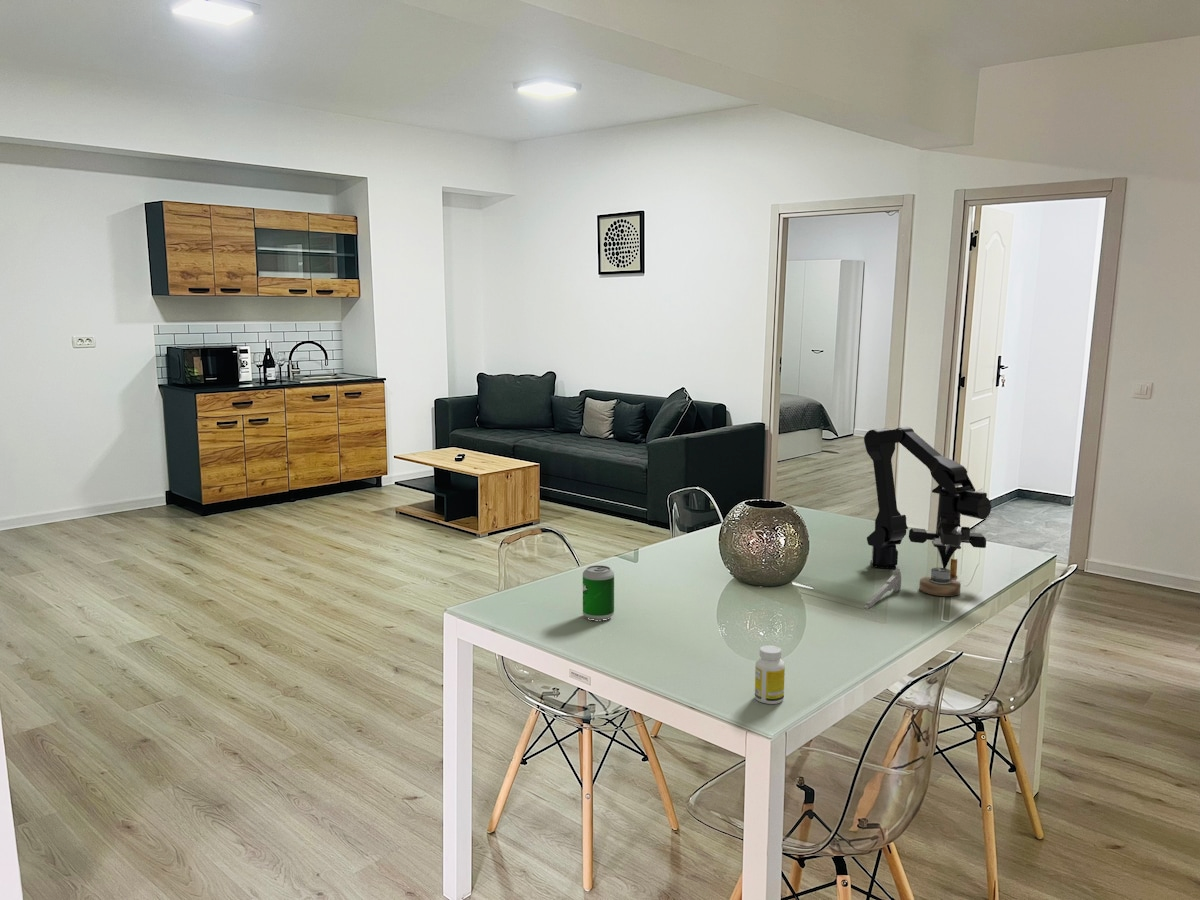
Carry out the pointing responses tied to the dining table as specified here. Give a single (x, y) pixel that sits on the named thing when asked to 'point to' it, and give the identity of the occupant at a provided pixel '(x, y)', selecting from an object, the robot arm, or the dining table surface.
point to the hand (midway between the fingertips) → (944, 569)
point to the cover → (940, 576)
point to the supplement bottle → (769, 676)
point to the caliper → (886, 588)
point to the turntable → (942, 589)
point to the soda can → (598, 592)
